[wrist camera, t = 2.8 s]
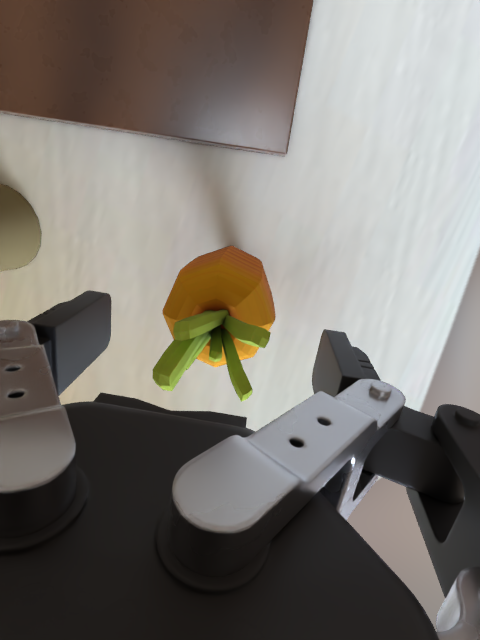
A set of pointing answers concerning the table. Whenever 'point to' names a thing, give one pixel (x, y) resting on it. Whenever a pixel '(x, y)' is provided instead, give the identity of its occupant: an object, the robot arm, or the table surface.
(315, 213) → the table surface
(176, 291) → the carrot
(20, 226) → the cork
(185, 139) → the cutting board
